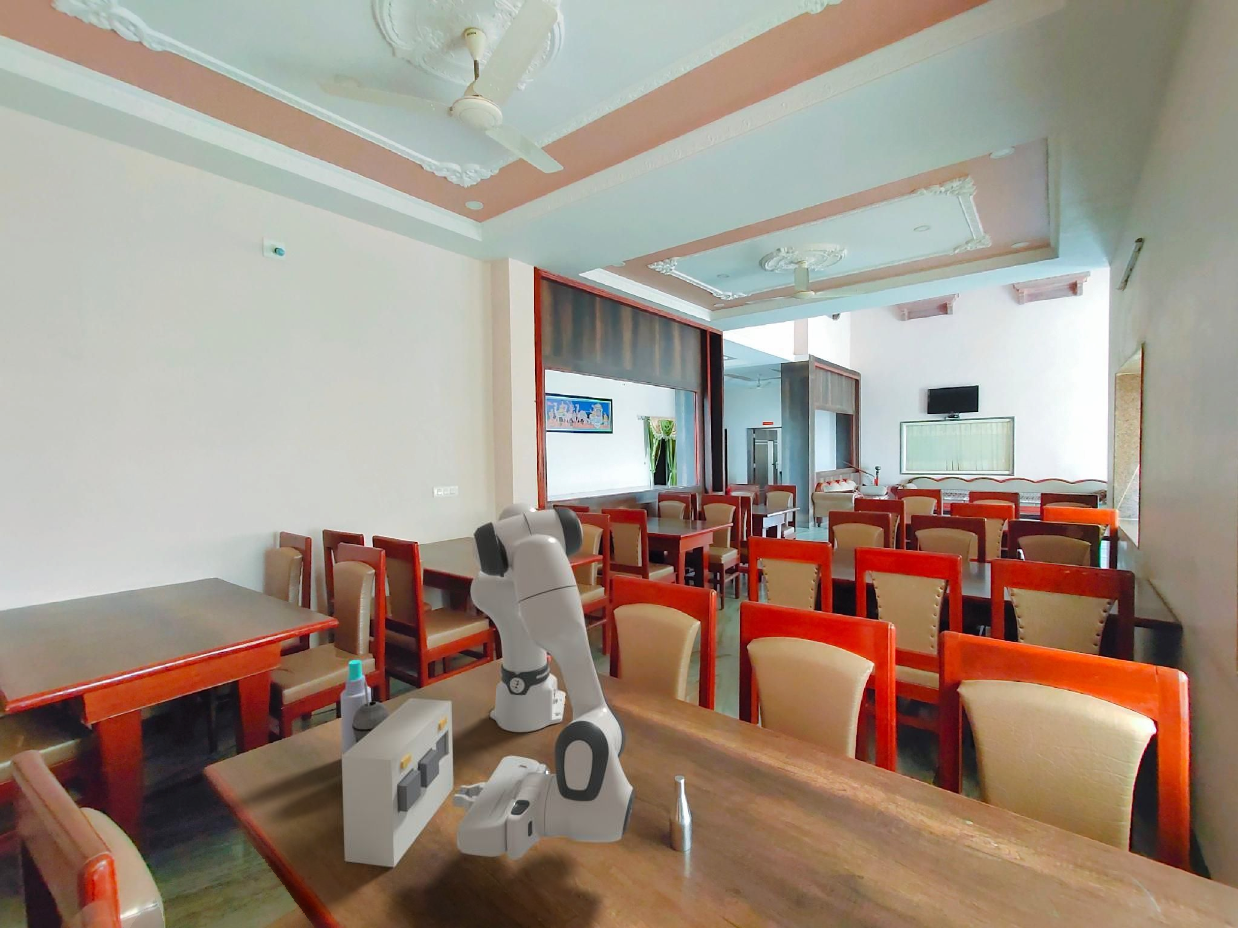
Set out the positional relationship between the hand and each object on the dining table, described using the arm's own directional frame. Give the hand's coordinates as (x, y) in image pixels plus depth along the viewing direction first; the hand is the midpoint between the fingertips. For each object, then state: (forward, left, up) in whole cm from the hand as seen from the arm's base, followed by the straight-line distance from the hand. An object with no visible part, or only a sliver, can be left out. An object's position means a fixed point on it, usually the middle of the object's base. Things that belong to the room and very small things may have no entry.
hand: (456, 795), depth 93 cm
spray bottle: (-23, -35, -11) cm, 44 cm away
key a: (0, -10, -2) cm, 10 cm away
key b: (-13, -12, -2) cm, 18 cm away
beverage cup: (-18, -28, -11) cm, 35 cm away
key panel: (-6, -14, -10) cm, 19 cm away
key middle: (-6, -10, -2) cm, 12 cm away
